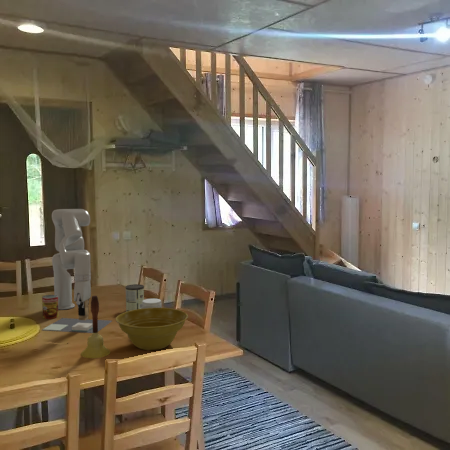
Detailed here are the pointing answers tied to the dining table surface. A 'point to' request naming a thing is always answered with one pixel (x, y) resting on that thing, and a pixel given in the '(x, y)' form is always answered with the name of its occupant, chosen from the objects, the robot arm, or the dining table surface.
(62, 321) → the mat
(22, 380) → the dining table surface
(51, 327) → the pad
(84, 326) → the tile
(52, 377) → the dining table surface
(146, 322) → the planter bowl
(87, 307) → the tan wooden block
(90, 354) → the handbell
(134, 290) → the coffee can
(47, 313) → the canned food
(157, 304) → the supplement tub
